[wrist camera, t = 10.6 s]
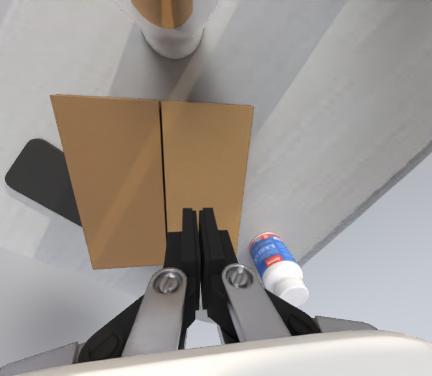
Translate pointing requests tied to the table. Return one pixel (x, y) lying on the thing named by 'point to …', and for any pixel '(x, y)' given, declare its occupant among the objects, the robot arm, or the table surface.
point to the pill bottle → (278, 269)
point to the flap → (206, 161)
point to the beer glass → (170, 23)
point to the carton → (117, 176)
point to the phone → (44, 178)
